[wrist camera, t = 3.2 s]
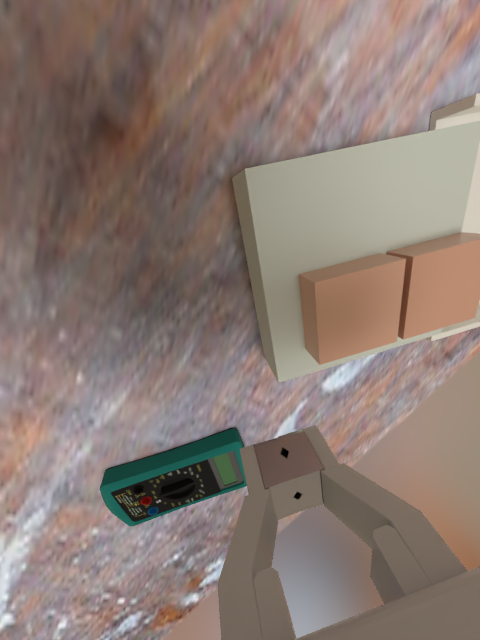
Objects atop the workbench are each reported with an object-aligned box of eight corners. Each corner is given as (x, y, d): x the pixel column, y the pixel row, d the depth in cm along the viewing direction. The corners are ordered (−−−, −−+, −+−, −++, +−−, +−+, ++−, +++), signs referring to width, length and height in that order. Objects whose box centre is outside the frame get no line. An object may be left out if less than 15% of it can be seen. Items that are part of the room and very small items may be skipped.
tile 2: (298, 274, 16) (314, 282, 14) (379, 253, 17) (406, 258, 15) (305, 348, 19) (319, 365, 17) (375, 328, 19) (397, 341, 17)
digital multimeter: (99, 467, 25) (89, 497, 22) (237, 422, 26) (242, 445, 24) (128, 504, 28) (122, 534, 26) (249, 462, 30) (255, 487, 27)
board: (231, 178, 16) (244, 168, 13) (424, 138, 18) (484, 119, 14) (264, 356, 23) (278, 382, 19) (403, 315, 25) (440, 333, 21)
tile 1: (386, 251, 17) (413, 256, 15) (461, 232, 17) (496, 234, 15) (380, 326, 19) (403, 339, 17) (446, 307, 20) (474, 317, 18)
